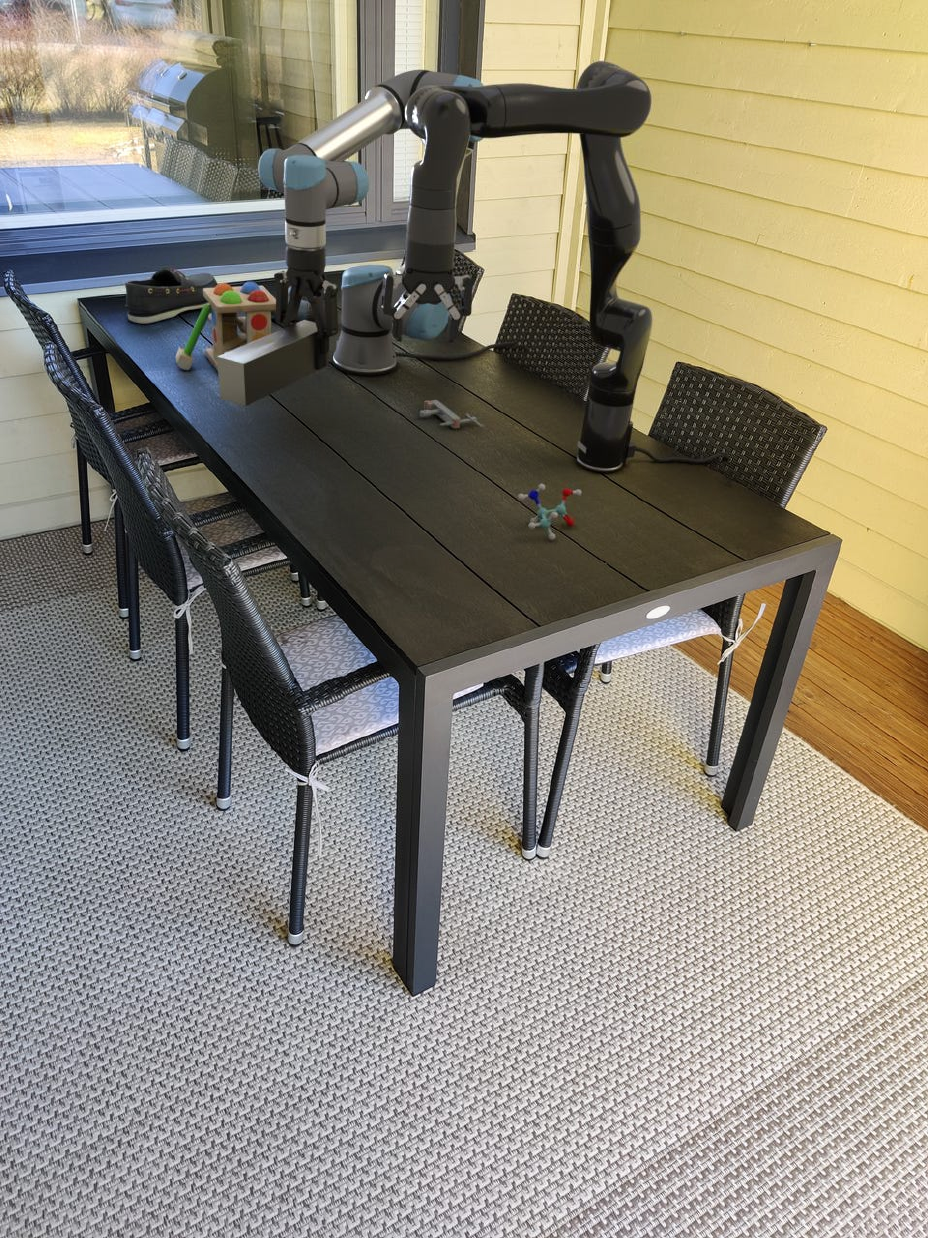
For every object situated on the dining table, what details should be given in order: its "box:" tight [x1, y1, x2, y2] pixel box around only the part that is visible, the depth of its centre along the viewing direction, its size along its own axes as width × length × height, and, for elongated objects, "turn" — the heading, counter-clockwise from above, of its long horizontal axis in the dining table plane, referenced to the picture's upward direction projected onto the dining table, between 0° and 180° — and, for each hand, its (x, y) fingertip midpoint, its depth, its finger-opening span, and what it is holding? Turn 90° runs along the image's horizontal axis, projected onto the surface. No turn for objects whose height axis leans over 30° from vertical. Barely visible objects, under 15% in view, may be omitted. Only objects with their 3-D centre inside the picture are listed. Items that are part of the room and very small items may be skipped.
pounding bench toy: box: [174, 281, 276, 372], centre depth 225 cm, size 23×14×18 cm, turn 116°
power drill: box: [271, 285, 325, 322], centre depth 265 cm, size 5×19×20 cm
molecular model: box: [517, 483, 582, 541], centre depth 175 cm, size 12×10×10 cm
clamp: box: [419, 399, 486, 430], centre depth 213 cm, size 15×2×10 cm
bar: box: [217, 320, 330, 407], centre depth 189 cm, size 27×6×8 cm, turn 153°
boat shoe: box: [124, 266, 218, 324], centre depth 259 cm, size 13×33×10 cm, turn 147°
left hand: (307, 363), depth 199 cm, fingers closed on bar, 6 cm apart
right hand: (424, 340), depth 159 cm, fingers open, 8 cm apart
